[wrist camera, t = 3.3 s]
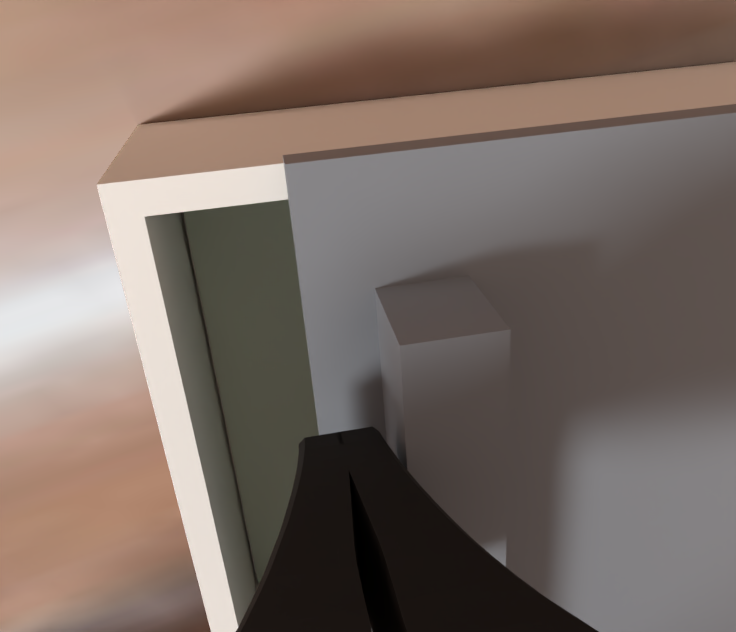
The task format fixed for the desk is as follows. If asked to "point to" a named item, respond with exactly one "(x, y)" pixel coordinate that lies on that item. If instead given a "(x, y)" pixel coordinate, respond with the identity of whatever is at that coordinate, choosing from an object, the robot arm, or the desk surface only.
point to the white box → (279, 284)
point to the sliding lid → (544, 346)
